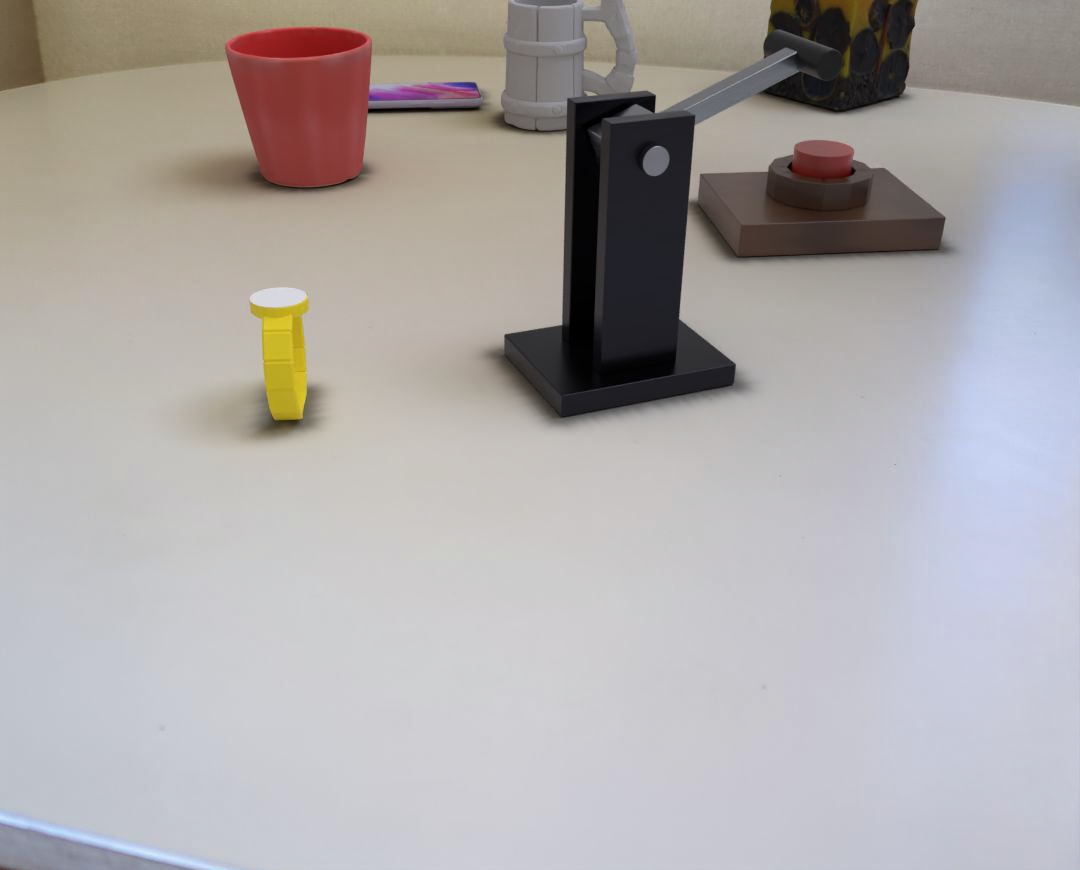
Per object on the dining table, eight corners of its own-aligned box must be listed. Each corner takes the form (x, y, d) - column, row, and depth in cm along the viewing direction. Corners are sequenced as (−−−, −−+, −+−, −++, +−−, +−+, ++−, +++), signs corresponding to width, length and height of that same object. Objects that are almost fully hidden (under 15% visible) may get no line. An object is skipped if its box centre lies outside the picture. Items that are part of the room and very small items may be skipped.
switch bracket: (664, 326, 70) (682, 78, 62) (734, 384, 64) (764, 117, 56) (503, 353, 67) (501, 95, 59) (561, 417, 61) (568, 138, 53)
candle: (823, 76, 122) (838, -33, 116) (907, 96, 115) (927, -18, 110) (756, 91, 116) (768, -22, 110) (840, 113, 110) (857, -6, 104)
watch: (315, 436, 59) (302, 322, 55) (257, 437, 58) (241, 323, 55) (322, 380, 64) (311, 273, 60) (269, 382, 63) (255, 274, 60)
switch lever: (790, 60, 62) (782, 15, 61) (846, 82, 59) (839, 34, 57) (588, 165, 61) (575, 121, 60) (632, 194, 57) (619, 148, 56)
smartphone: (317, 84, 113) (476, 81, 115) (318, 94, 113) (477, 90, 115) (315, 102, 107) (483, 98, 109) (316, 112, 107) (484, 108, 109)
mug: (508, 107, 110) (508, -37, 104) (637, 113, 109) (645, -32, 102) (493, 129, 104) (491, -23, 97) (629, 137, 103) (637, -17, 96)
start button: (838, 164, 85) (842, 139, 84) (858, 181, 81) (862, 155, 80) (783, 166, 84) (786, 140, 83) (801, 183, 81) (805, 157, 80)
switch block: (880, 196, 90) (889, 142, 88) (940, 249, 81) (952, 190, 79) (697, 203, 88) (701, 147, 86) (737, 257, 79) (743, 197, 77)
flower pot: (214, 186, 90) (194, 49, 85) (282, 147, 99) (268, 20, 94) (343, 201, 88) (332, 61, 82) (401, 160, 96) (395, 30, 91)
